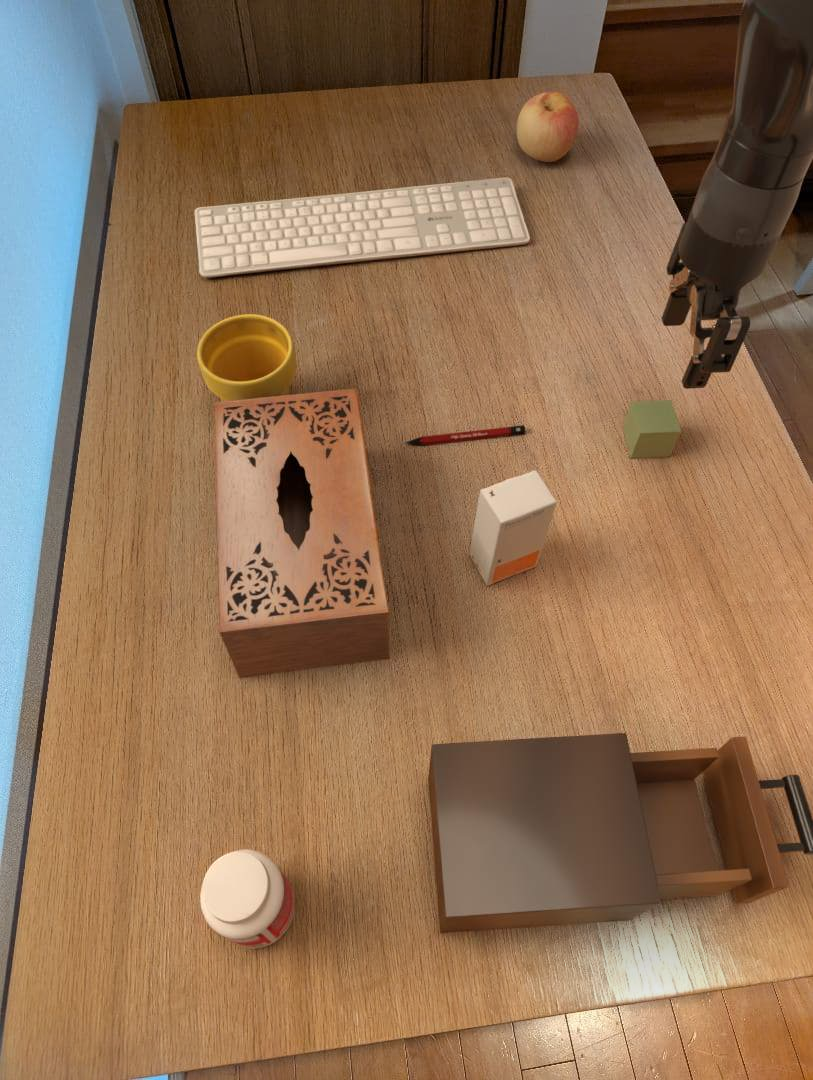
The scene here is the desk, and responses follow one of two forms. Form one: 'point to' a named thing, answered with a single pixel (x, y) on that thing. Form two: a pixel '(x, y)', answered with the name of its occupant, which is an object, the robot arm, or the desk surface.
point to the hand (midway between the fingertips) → (681, 353)
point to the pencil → (468, 435)
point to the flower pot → (247, 358)
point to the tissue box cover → (297, 535)
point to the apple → (547, 126)
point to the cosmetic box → (511, 526)
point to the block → (651, 429)
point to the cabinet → (538, 833)
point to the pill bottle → (247, 899)
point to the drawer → (738, 818)
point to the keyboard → (358, 227)
